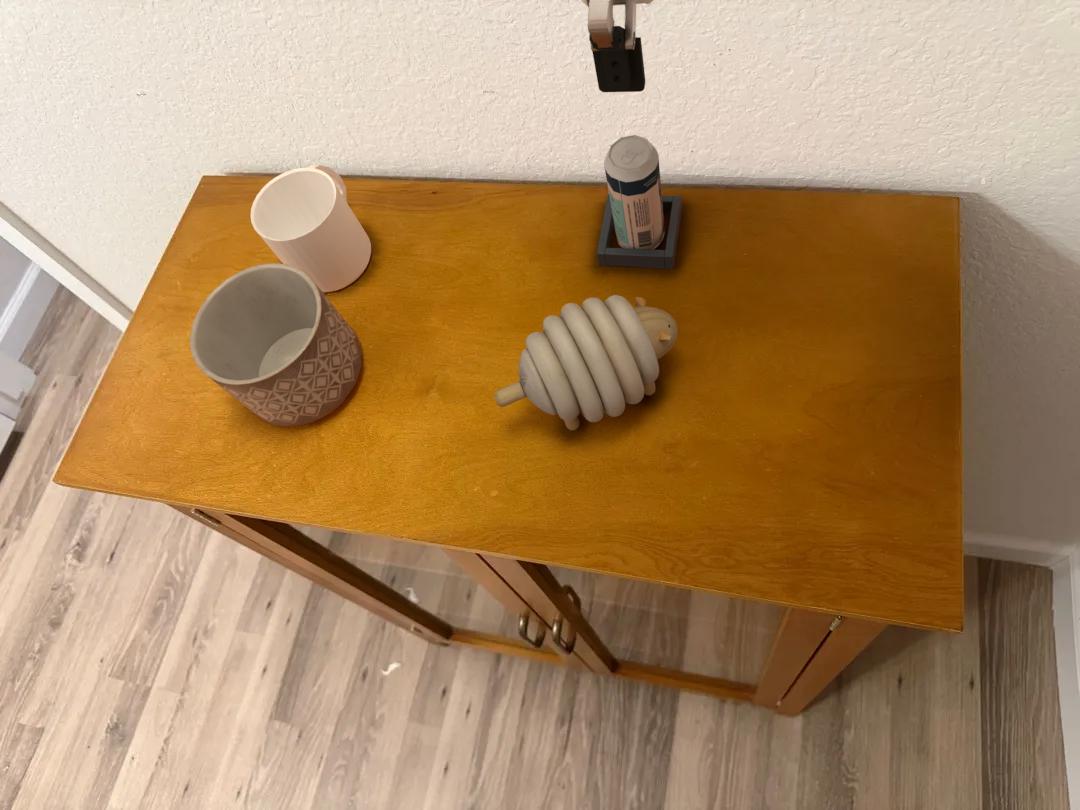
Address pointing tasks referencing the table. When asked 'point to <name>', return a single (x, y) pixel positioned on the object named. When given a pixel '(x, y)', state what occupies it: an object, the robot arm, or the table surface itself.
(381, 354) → the table surface
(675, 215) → the holder
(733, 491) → the table surface
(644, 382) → the toy sheep
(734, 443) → the table surface
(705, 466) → the table surface
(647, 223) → the beer can
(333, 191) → the mug
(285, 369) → the planter
